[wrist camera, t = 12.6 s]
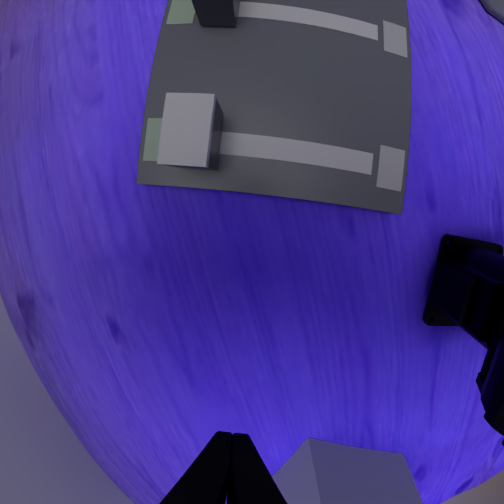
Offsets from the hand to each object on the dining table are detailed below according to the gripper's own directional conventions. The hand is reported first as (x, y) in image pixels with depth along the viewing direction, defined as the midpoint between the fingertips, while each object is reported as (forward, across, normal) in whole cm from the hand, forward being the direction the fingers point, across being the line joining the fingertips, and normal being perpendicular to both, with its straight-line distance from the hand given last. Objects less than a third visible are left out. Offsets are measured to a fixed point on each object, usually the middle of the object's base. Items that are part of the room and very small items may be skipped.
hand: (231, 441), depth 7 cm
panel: (+12, -1, -17) cm, 21 cm away
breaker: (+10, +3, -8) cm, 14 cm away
